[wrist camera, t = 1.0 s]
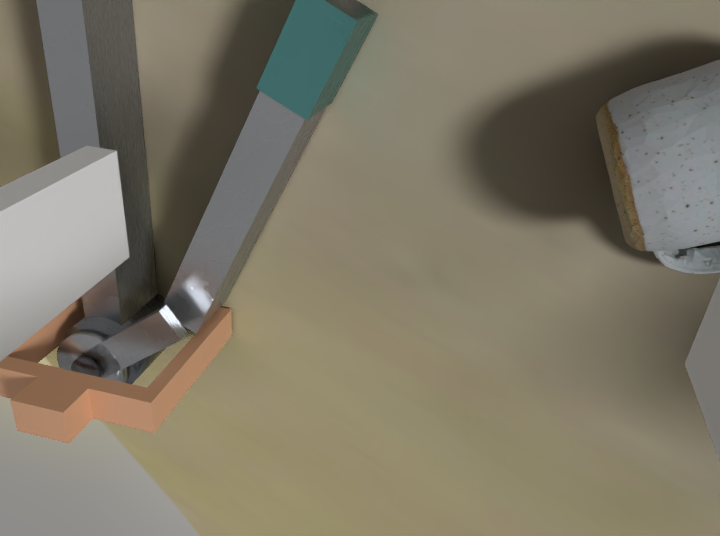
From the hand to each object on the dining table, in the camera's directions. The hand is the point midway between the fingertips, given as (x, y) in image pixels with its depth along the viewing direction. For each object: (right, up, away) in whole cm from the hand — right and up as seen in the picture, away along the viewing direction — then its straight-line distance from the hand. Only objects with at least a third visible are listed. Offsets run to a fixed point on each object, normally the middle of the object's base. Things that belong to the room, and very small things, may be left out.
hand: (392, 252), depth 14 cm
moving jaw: (-9, +4, +23) cm, 25 cm away
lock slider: (-14, -3, +28) cm, 32 cm away
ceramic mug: (+16, +5, +17) cm, 23 cm away
